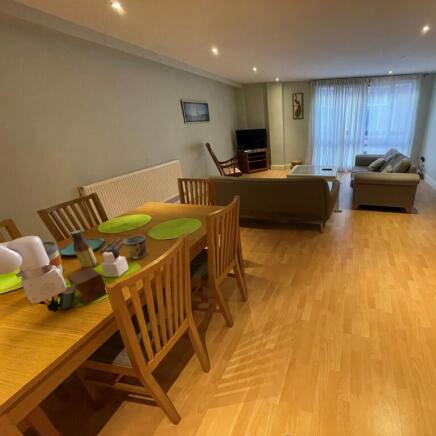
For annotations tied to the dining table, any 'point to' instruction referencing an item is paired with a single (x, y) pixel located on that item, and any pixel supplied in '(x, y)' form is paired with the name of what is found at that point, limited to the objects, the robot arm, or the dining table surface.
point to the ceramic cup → (136, 246)
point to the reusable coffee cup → (53, 254)
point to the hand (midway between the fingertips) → (55, 310)
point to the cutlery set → (92, 242)
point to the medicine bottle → (113, 263)
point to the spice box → (87, 285)
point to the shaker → (67, 298)
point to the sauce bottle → (83, 250)
